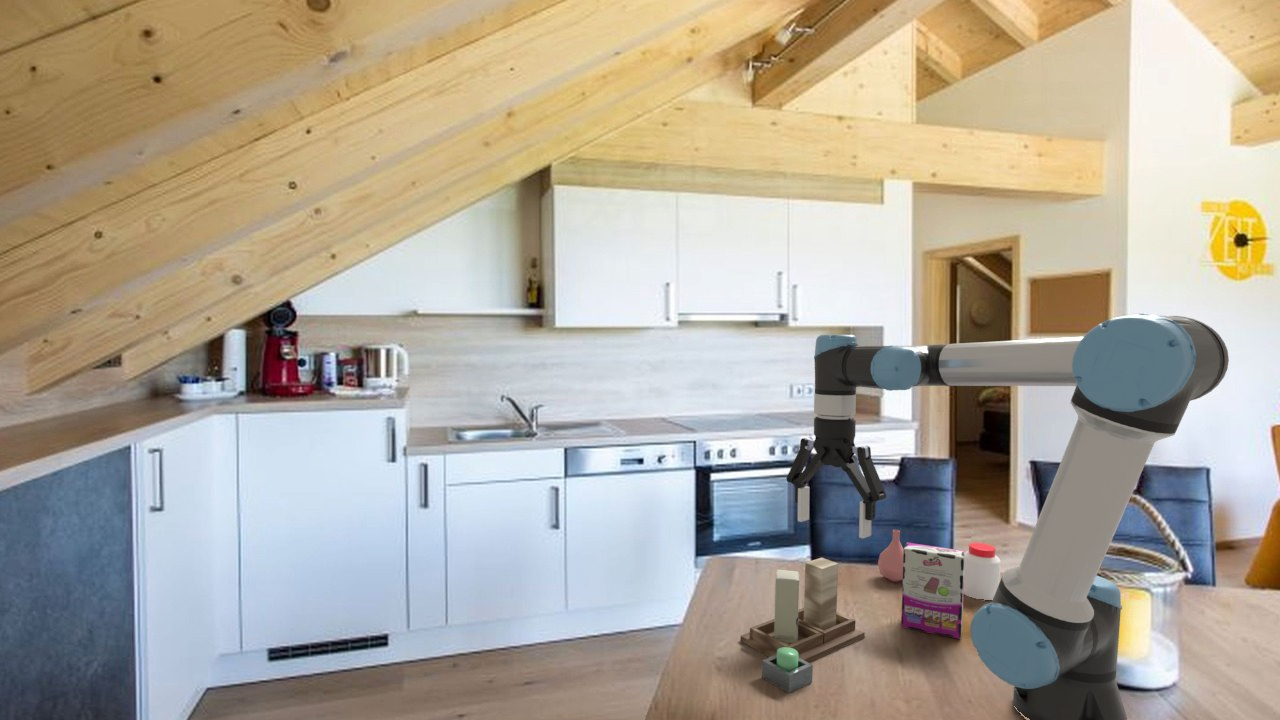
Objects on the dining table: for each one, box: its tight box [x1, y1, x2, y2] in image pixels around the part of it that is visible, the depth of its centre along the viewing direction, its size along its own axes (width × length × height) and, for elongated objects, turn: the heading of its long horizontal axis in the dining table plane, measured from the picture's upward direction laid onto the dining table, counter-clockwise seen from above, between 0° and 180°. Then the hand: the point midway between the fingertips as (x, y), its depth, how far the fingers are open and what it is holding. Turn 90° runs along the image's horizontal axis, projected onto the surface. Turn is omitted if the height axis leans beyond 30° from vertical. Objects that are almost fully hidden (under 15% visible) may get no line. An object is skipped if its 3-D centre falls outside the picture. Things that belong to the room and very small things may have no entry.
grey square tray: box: [761, 654, 814, 694], centre depth 115 cm, size 6×6×3 cm
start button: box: [777, 647, 798, 672], centre depth 115 cm, size 4×4×4 cm
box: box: [774, 569, 800, 645], centre depth 127 cm, size 5×4×13 cm
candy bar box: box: [900, 542, 966, 640], centre depth 135 cm, size 11×5×16 cm, turn 62°
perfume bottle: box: [877, 529, 904, 582], centre depth 161 cm, size 8×8×12 cm
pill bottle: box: [963, 542, 1002, 601], centre depth 153 cm, size 8×8×11 cm
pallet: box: [739, 557, 866, 663], centre depth 130 cm, size 13×21×14 cm, turn 127°
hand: (833, 528), depth 127 cm, fingers open, 13 cm apart
